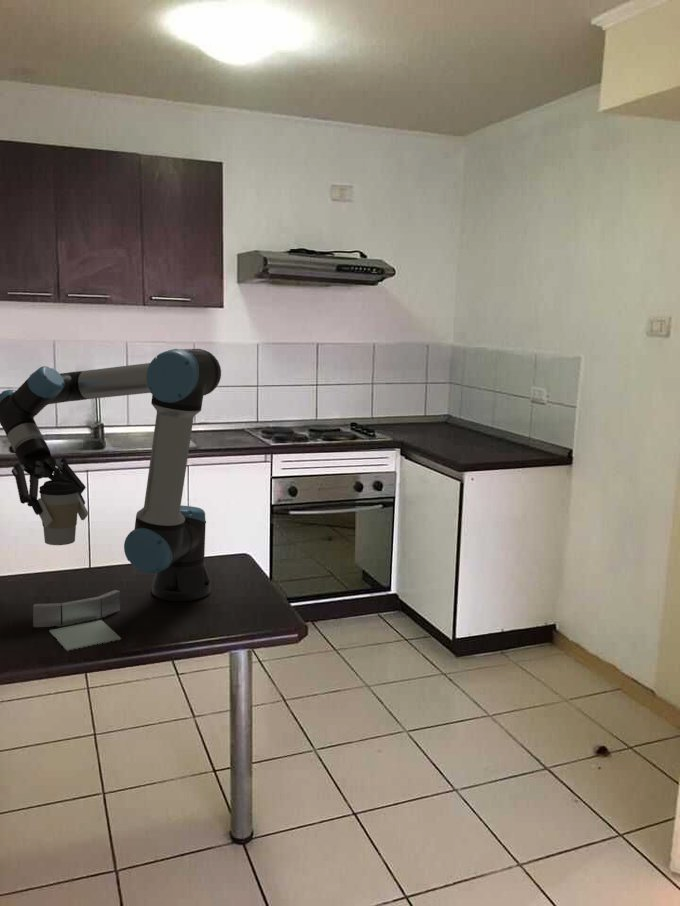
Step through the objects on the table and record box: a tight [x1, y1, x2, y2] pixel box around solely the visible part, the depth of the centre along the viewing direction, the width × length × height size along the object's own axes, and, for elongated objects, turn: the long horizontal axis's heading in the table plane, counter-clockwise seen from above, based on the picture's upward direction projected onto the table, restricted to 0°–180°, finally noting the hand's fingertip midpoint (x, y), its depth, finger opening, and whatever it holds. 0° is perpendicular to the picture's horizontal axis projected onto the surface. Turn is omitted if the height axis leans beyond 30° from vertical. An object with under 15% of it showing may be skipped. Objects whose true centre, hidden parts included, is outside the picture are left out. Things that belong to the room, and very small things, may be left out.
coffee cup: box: [38, 479, 79, 546], centre depth 184 cm, size 9×9×15 cm
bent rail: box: [32, 589, 121, 628], centre depth 181 cm, size 20×4×5 cm, turn 128°
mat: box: [49, 619, 122, 652], centre depth 172 cm, size 12×12×1 cm
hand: (67, 520), depth 183 cm, fingers closed on coffee cup, 9 cm apart
